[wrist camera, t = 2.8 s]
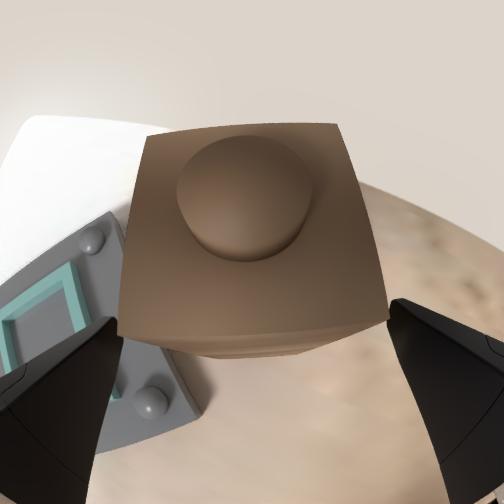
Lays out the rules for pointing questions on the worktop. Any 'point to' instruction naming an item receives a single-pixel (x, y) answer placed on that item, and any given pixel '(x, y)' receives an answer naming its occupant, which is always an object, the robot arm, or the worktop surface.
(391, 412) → the worktop surface
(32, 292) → the baseplate
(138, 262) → the pillar
